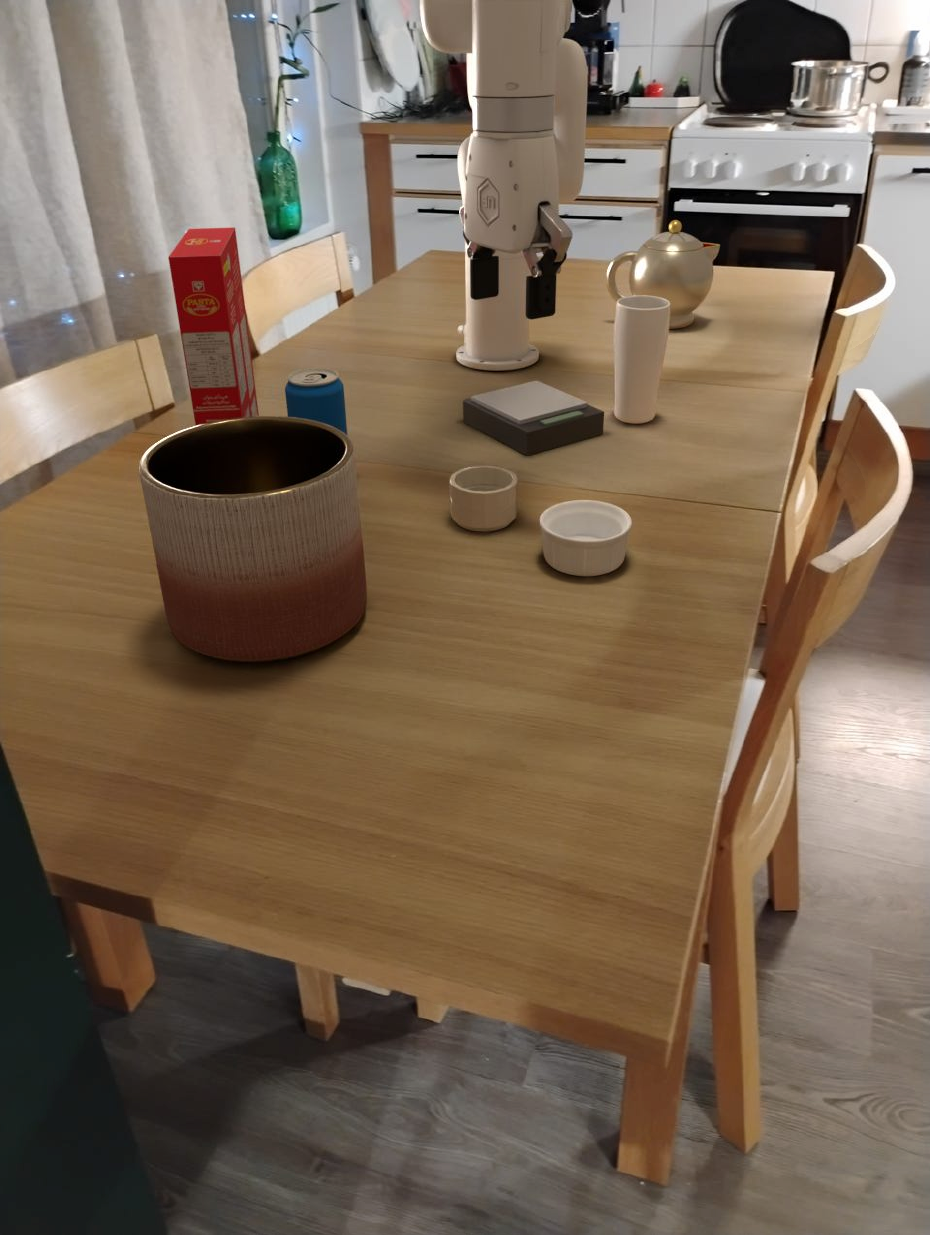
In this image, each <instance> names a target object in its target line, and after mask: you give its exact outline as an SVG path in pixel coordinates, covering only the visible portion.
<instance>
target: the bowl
mask: <svg viewBox="0 0 930 1235" xmlns="http://www.w3.org/2000/svg"><path fill="white" fill-rule="evenodd" d="M518 480H519V479H518V477H517V475H516V474H515V472H513V471H511V470H509V469H507V468H504V467H500V466H497V465H496V466H495V465H474V466H467V467H464V468H461V469H458V470H456V471H455V472H453V473H452V474H451V476H450V477H449V513H450V516H451V519H452V520H453V521H454V522H455V523H456V524H457V525H458V526H460V527H461V528H463V529H466V530H468V531H474V532H494V531H497V530H501V529H503V528H506V527H507V526H509V525H510V524H511V523H512V522H513V521H514V520H516V518H517V515H518V492H519V491H518V488H519V487H518V486H519V485H518V482H519V481H518Z"/></svg>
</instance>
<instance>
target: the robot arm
mask: <svg viewBox="0 0 930 1235" xmlns="http://www.w3.org/2000/svg"><path fill="white" fill-rule="evenodd" d="M572 12H573V0H419V14H420V23H421V28H422V31H423V34H424V36H425V39H426V41H427V42H428V44H429V45H430V46H431V47H432V48H433V49H435V51H438V52H441V53H444V54H465V55H466V86H467V87H466V88H467V97H468V103H469V106H470V109H471V111H472V132H471V133H470V135H469V136H467V137H466V138H464V140H463V141H462V143H461V144H460V146H459V149H458V152H457V161H456V162H457V176H458V181H459V188H460V195H461V203H462V206H461V207H459V210H458V211H459V219H460V221H461V225H462V228H463V230H462V236H463V239H464V262H465V263H464V264H465V266H464V267H465V270H464V271H465V323H464V325H463V324H460V325H459V326H458V328H457V333H458V334H459V335H462V336H463V337H464V342H463V343H464V344H463V345H461V346H459V347H458V348H457V350H456V352H455V355H456V357H455V358H456V360H457V362H458V363H459V364H460V365H462V366H464V367H468V368H471V369H475V370H480V371H481V370H482V371H491V372H492V371H493V372H494V371H496V372H497V371H499V372H500V371H514V370H520V369H524V368H527V367H530V366H531V365H534V364H535V363H536V362H538V360H539V357H540V351H539V349H538V348H537V347H536V346H534V345H533V344H531V343H530V320H532V321H533V320H538V319H542V318H548V317H549V318H550V317H553V316H554V315H555V314H556V304H557V301H556V300H557V275H559V274H560V273H561V272H562V265H563V264H564V263H565V262H566V260H567V257H568V250H569V248H570V245H571V242H572V240H573V231H572V229H571V228H570V227H569V225H568V224H567V223H566V222H565V220H563V219H562V217H561V216H560V215H559V210H560V208H559V207H560V205H564V204H569V203H571V202H574V201H576V199H578V197H579V195H580V193H581V191H582V187H583V182H584V175H585V174H584V173H585V159H586V158H585V156H586V155H585V154H586V153H585V152H586V133H587V132H586V130H587V112H588V110H587V109H588V108H587V107H588V66H587V59H586V55H585V52H584V50H583V48H582V46H581V45H580V44H579V43H578V42H577V41H575V40H573V39H570V38H564V36H565V34H566V33H567V32H568V31H569V29H570V27H571V22H572ZM540 253H541V254H542V256H541V258H540V259H539V257H538V254H540Z"/></svg>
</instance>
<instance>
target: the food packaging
mask: <svg viewBox="0 0 930 1235" xmlns="http://www.w3.org/2000/svg"><path fill="white" fill-rule="evenodd" d="M167 259H168V263H169V270H170V276H171V282H172V289H173V295H174V300H175V308H176V313H177V320H178V325H179V333H180V339H181V344H182V352H183V356H184V362H185V369H186V375H187V380H188V381H187V382H188V386H189V387H188V389H189V394H190V400H191V405H192V413H193V420H194V426H198V425H201V424H205V423H210V422H214V421H220V420H225V419H232V418H241V417H253V416H260V415H259V414H260V413H259V406H258V397H257V391H256V390H257V389H256V382H255V376H254V367H253V359H252V358H253V357H252V351H251V343H250V335H249V327H248V320H247V319H248V318H247V310H246V303H245V294H244V288H243V278H242V270H241V263H240V256H239V248H238V239H237V232H236V227H208V228H188V229H187V231H186V232H185V233H184V235H183V236H182V237H181V239H180V240H179V242H178V243H177V244H176V246H175V247H174V249H173V250H172V251H171V253H170V254H169V255H168V258H167Z"/></svg>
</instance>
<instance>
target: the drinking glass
mask: <svg viewBox="0 0 930 1235" xmlns="http://www.w3.org/2000/svg"><path fill="white" fill-rule="evenodd" d="M670 305H671V304H670V302H669V301H668V300H666V299H664V298H660V297H655V296H644V295H637V296H632V295H628V296H627V295H626V297H623V298H620V299H619V300H618V301H617V302H616V304H615V313H614V322H613V323H614V324H613V367H614V371H613V373H614V376H613V377H614V405H613V406H614V407H613V414H614V417H615V418H616V419H617V420H618V421H620V422H623V423H625V424H633V425H636V424H639V425H640V424H645V423H649V422H652V421H653V419H654V418H655V416H656V411H657V402H658V395H659V390H660V389H659V388H660V383H661V378H662V372H663V366H664V361H665V357H666V351H667V345H668V340H669V333H670V332H669V331H670V329H669V323H670Z"/></svg>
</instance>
